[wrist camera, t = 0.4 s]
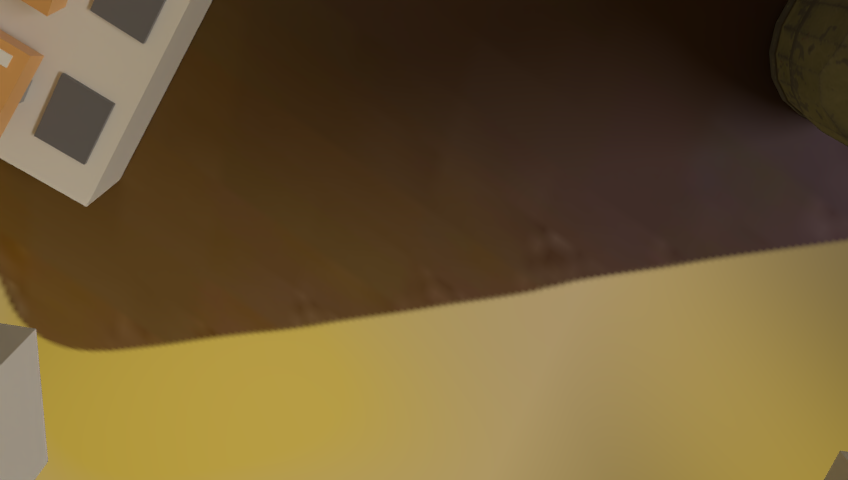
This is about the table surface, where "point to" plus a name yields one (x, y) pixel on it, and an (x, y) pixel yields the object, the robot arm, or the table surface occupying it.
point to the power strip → (93, 86)
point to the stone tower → (813, 62)
